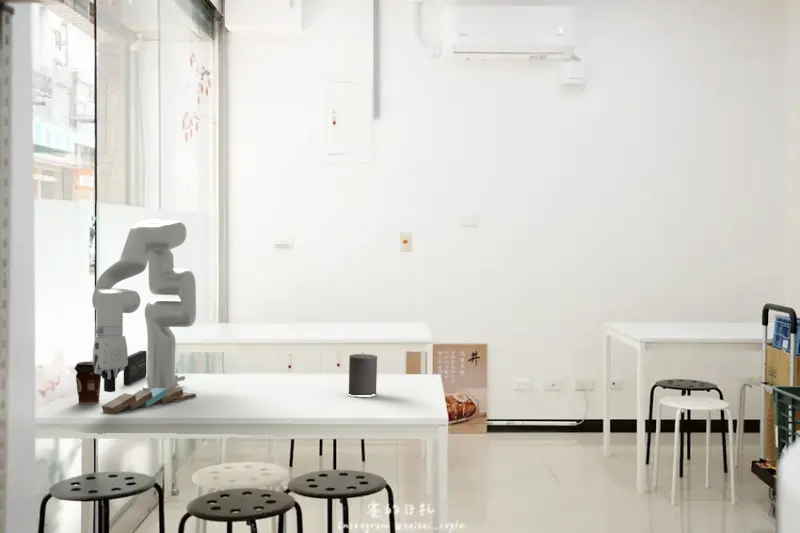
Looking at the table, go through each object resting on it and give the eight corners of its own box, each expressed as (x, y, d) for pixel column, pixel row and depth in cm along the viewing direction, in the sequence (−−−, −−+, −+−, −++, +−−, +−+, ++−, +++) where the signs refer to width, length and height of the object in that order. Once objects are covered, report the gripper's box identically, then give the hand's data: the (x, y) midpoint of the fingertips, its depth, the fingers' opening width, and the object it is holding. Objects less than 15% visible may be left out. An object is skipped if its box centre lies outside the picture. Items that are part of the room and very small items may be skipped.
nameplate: (141, 376, 342) (141, 350, 342) (146, 376, 342) (146, 350, 342) (123, 385, 321) (123, 358, 321) (128, 385, 321) (128, 358, 321)
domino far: (103, 411, 274) (125, 399, 281) (113, 413, 271) (136, 400, 278) (101, 405, 273) (124, 393, 281) (112, 407, 271) (135, 395, 278)
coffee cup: (71, 405, 283) (71, 364, 283) (76, 400, 291) (76, 361, 291) (100, 404, 285) (100, 364, 284) (104, 400, 293) (104, 360, 292)
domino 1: (120, 408, 280) (141, 395, 287) (131, 410, 277) (152, 397, 284) (119, 402, 279) (140, 390, 286) (130, 404, 276) (151, 391, 284)
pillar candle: (343, 396, 306) (344, 352, 306) (357, 391, 315) (358, 349, 314) (367, 399, 302) (368, 355, 301) (381, 394, 310) (382, 351, 310)
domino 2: (136, 405, 285) (156, 392, 292) (147, 407, 283) (167, 394, 290) (134, 399, 285) (155, 387, 292) (145, 401, 282) (166, 388, 289)
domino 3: (152, 402, 291) (173, 393, 298) (162, 404, 288) (183, 394, 295) (151, 396, 290) (172, 387, 298) (161, 398, 287) (182, 389, 295)
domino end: (165, 402, 296) (184, 398, 303) (176, 403, 293) (195, 399, 301) (165, 396, 296) (184, 392, 303) (176, 397, 293) (195, 393, 301)
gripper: (98, 334, 264) (98, 396, 264) (137, 330, 276) (137, 389, 277) (81, 332, 268) (81, 393, 268) (120, 328, 280) (120, 386, 281)
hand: (109, 391), depth 273 cm, fingers closed
